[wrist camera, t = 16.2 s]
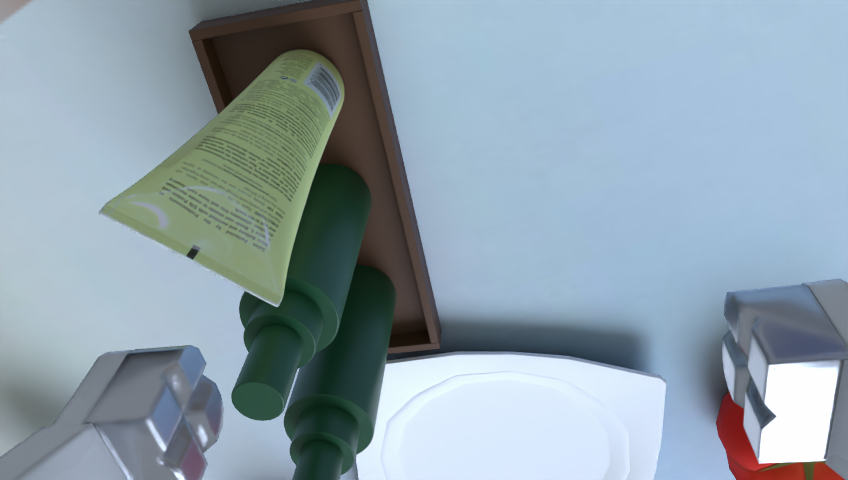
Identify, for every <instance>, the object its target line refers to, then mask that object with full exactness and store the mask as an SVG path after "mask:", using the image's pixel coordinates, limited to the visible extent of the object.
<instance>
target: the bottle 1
mask: <svg viewBox="0 0 848 480" xmlns="http://www.w3.org/2000/svg"><path fill="white" fill-rule="evenodd" d="M371 205H372V198H371V193H370V190H369V188H368V186H367V184H366V182H365V181H364V180H363V179H362V177H361V176H360V175H358V174H357V173H356V172H355V171H353V170H351V169H350V168H347V167H345V166H342V165H338V164H321V165H318V167H317V170H316V173H315V175H314V178H313V181H312V184H311V187H310V190H309V194H308V197H307V200H306V203H305V207H304V210H303V213H302V216H301V220H300V223H299V226H298V230H297V234H296V237H295V241H294V245H293V249H292V252H291V257H290V261H289V266H288V270H287V276H286V282H285V288H284V295H283V298H282V301H281V303H280V305H279V306H278V307H275V306H273V305H271V304H269V303H267V302H265V301H263V300H262V299H260V298H258V297H256V296H254V295H252V294H250V293H248V292H246V291H245V292H244V294H243V296H242V298H241V301H240V306H239V313H240V318H241V321H242V324H243V326H244V328H245V331H244V343H245V346H246V348H247V350H248V352H249V353H248V355H247V358H246V360H245V363H244V365H243V367H242V370H241V372H240V374H239V377H238V379H237V382H236V384H235V386H234V389H233V391H232V395H231V397H232V402H233V405H234V406H235V408H236V409H237V410H238V411H239V412H240V413H241V414H243V415H244V416H246V417H248V418H251V419H254V420H262V421H264V420H271V419H274V418H276V417H278V416H279V415H280V414H281V413H282V412H283V410H284V408H285V405H286V402H287V399H288V396H289V393H290V390H291V387H292V383H293V380H294V377H295V374H296V371H297V368H300V367H302V366H304V365H306V364H307V363H308V362H310V360H311V359H312V358H313V357H314V354H315V353H316V352H318V351H320V350H322V349H324V348H325V347H327V346H328V345H329V344H330V343H331V342H332V341H333V339H334V338H335V337H336V334H337V332H338V329H339V325H340V321H341V318H342V314H343V310H344V307H345V303H346V299H347V295H348V292H349V288H350V284H351V280H352V277H353V273H354V269H355V266H356V262H357V258H358V254H359V251H360V247H361V243H362V240H363V236H364V232H365V228H366V225H367V221H368V217H369V214H370V210H371Z"/></svg>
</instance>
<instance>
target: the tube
mask: <svg viewBox="0 0 848 480" xmlns="http://www.w3.org/2000/svg"><path fill="white" fill-rule="evenodd" d="M343 101H344V84H343V80H342V78H341V75H340V73H339V72H338V70H337V69H336V67H335V66H334V65H333V64H332V63H331V62H330V61H329V60H328V59H327V58H325V57H324V56H322V55H320V54H318V53H316V52H314V51H310V50H304V49H297V50H291V51H288V52H285V53H283V54H281V55H280V56H278V57H277V58H276V59H275V60H274V61H273V62H272V63H271V64H270V65H269V66H268V67H267V68H266V69H265V70H264V71H263V72H262V73H261V74H260V75H259V76H258V77H257V78H256V79H255V80H254V81H253V82H252V83H251V84H250V85H249V86H248V87H247V88H246V89H245V90H244V91H243V92H242V93H241V94H240V95H239V96H238V97H236V98H235V99H234V100H233V101H232V102H231V103H230V104H229V105H228V106H227V107H226V108H225V109H224V110H223V111H222V112H220V113H219V114H218V115H217V116H216V117H215V118H214V119H213V120H212V121H210V122H209V123H208V124H207V125H206V126H205V127H204V128H202V129H201V130H200V131H199V132H198V133H197V134H196V135H194V136H193V137H192V138H191V139H190V140H189V141H188V142H186V143H185V144H184V145H183V146H182V147H180V148H179V149H178V150H177V151H176V152H174V153H173V154H172V155H171V156H169V157H168V158H167V159H166V160H165V161H163V162H162V163H161V164H160V165H158V166H157V167H156V168H155V169H153V170H152V171H151V172H149V173H148V174H147V175H146V176H144V177H143V178H142V179H140V180H139V181H138V182H136V183H135V184H134V185H132V186H131V187H129V188H128V189H127V190H125V191H124V192H122V193H121V194H119V195H118V196H116V197H115V198H113V199H112V200H110V201H109V202H107V203H106V204H105V205H104V206H103V208H102V209H101V210H100V211H99V214H100V215H101V216H103V217H106V218H108V219H110V220H112V221H114V222H115V223H117V224H119V225H121V226H123V227H125V228H127V229H129V230H131V231H133V232H135V233H137V234H139V235H141V236H143V237H145V238H147V239H148V240H150V241H152V242H154V243H156V244H158V245H160V246H162V247H164V248H166V249H167V250H169V251H171V252H173V253H176V254H177V255H179V256H181V257H183V258H185V259H187V260H189V261H191V262H193V263H195V264H197V265H198V266H200V267H202V268H204V269H206V270H208V271H209V272H211V273H213V274H215V275H217V276H219V277H221V278H222V279H224V280H226V281H228V282H230V283H232V284H234V285H236V286H237V287H239V288H241V289H243V290H245V291H246V292H248V293H250V294H252V295H254V296H256V297H258V298H260V299H262V300H263V301H265V302H267V303H269V304H271V305H273V306H275V307H278V306H279V305H280V303H281V301H282V298H283V295H284V288H285V282H286V276H287V270H288V266H289V261H290V257H291V252H292V249H293V245H294V241H295V237H296V234H297V230H298V226H299V223H300V220H301V216H302V213H303V210H304V207H305V203H306V200H307V197H308V194H309V190H310V187H311V184H312V181H313V178H314V175H315V173H316V170H317V167H318V164H319V162H320V159H321V156H322V154H323V151H324V149H325V146H326V144H327V141H328V139H329V136H330V134H331V131H332V129H333V126H334V124H335V122H336V119H337V117H338V114H339V112H340V110H341V107H342V104H343Z"/></svg>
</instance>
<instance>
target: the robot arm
mask: <svg viewBox="0 0 848 480" xmlns="http://www.w3.org/2000/svg"><path fill="white" fill-rule="evenodd" d="M724 316H725V318H726V320H727V323H728V325H729V327H730V329H731V330H730V331H729V332H728V333H727V334H726V335H725V336H724V337H723V342H722V358H723V367H724V374H725V378H726V382H727V385H728V389H729V391H730V394H731V397H732V399H733V402H735V403H736V404H738V405H739V406H741V407H742V408H744V423H743V426H744V429H745V431H746V433H747V436H748V438H749V441H750V443H751V445H752V448H753V450H754V453H755V455H756V457H757V460H758V462H759V463H781V462H808V461H826V463H825V464H826V465H828V466H829V467H830V468H831V469H833V470H834V471H835V472H836V473H837V474H839V475H840V476H841V477H842V478H844V479H845V480H848V283H847V282H846V281H844V280H842V279H834V280H825V281H817V282H809V283H802V284H801V285H791V286H781V287H772V288H762V289H753V290H743V291H734V292H727V295H726V299H725V306H724ZM205 366H206V362H205V360H204V358H203V356H202V354H201V352H200V350H199V348H197V347H194V346H191V345H187V346H174V347H161V348H147V349H135V350H127V351H115V352H107V353H105V354H103V355H101V356H99V357H98V359H97V360H96V362H95V363H94V365H93V366H92V367H91V369H90V370H89V372H88V373H87V375H86V376H85V378H84V379H83V381H82V382H81V384H80V385H79V387H78V388H77V390H76V391H75V393H74V394H73V396H72V397H71V399H70V400H69V402H68V403H67V405H66V406H65V408H64V409H63V411H62V412H61V414H60V415H59V417H58V418H57V420H56V421H55V422H54V424H53V425H52V426H50V427H43V428H41V429H40V430H38V431H37V432H35V433H34V434H32V435H31V436H30V437H28V438H27V439H25V440H24V441H22V442H21V443H20V444H18V445H17V446H15V447H14V448H12V449H11V450H9V451H8V452H7V453H5V454H4V455H2V456H1V457H0V480H201V479H202V477H203V474H204V472H205V469H206V467H207V464H208V463H207V461H206V459H205V456H204V454H203V453H204V452H205V451H206V450H207V449H209V448H210V447H211V446H212V445H213V444H214V443H215V442H216V441H217V439H218V437H219V434H220V431H221V428H222V423H223V410H224V408H223V403H222V398H221V394H220V392H219V390H218V387H217V385H216V383H214V382H213V381H211V380H210V379H208V378H207V377H205V376H204V375H203V371H204V369H205Z"/></svg>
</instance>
